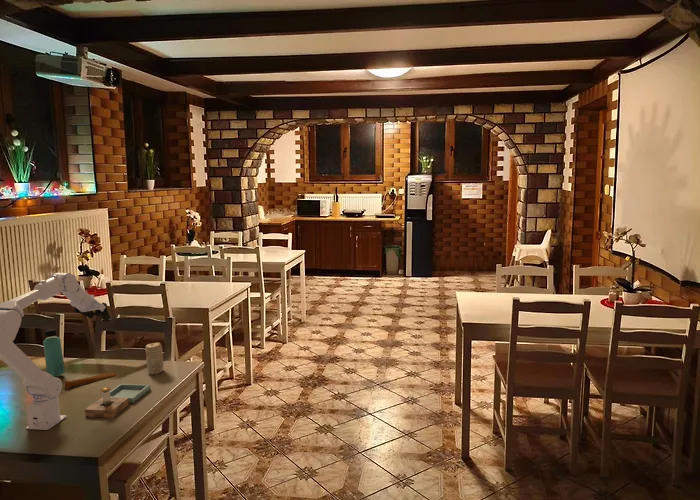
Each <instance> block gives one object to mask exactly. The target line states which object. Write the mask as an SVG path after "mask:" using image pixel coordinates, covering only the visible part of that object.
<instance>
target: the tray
mask: <svg viewBox="0 0 700 500" xmlns="http://www.w3.org/2000/svg"><path fill="white" fill-rule="evenodd" d="M150 391H151V385H150V384H139V383H138V384H137V383H134V384H133V383H120V384H118V385H117V386H115V387H114V388H113V389H110V397H115V398H129V404H132V403H133V404H135V403H136V402H137V401H139V400H140V399H141V398H142V397H143V396H145V395H146V394H147V393H149V392H150Z"/></svg>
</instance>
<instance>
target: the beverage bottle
mask: <svg viewBox="0 0 700 500" xmlns="http://www.w3.org/2000/svg"><path fill="white" fill-rule="evenodd" d="M56 335H58V333H57V329H55V328H49V329H46V330H44V336H45V337H46V338H45V339H44V340H43V342H42V344H43V351H44V361H45V368H46V369H45V370H46V373H48V374H51V375H52V376H53V377H58V376H61V375H63V374H65V372H66V371H65V370H66V369H65V368H66V367H65V361H64V356H63V349H62V348H63V347H62V341H61V338H60V337H59V336H56Z"/></svg>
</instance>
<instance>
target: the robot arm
mask: <svg viewBox="0 0 700 500" xmlns="http://www.w3.org/2000/svg"><path fill="white" fill-rule="evenodd" d="M58 294H63V296H64V297H66V298H67V299H68V300H69V301H70V302H69V305H70V306H71V307H73V308H74V309H73V312H74V313H77V314H80V315H83V316H84V317H86V318H89V319H91V320H92V319H93V317H94V316H95V317H98V318H100V319H101V320H102V321H105V322H108V321H109V320H110V319H111V315H110V313H109V311H108V304H107V302H106V303H105V302H99V301H98V300H97V299H95V297H96V296H95V294H89V293H88V292H87V291H86V290H85V289H84V288H83V287H82V286H81V285H80V284H79V282H78V279H77V276H76V275H75V274H72V273H69V272H68V273H67V272H54V273H51V275H50V276H49V278H47V279H41V280H40V281H39V283H37V284H36V285H34V287H33V290H31V291H28V292H26V293H24V294H21V295H19V296H16V297H14V298H12V299H9V300H6V301H4V302H1V303H0V360H1V361H2V362H4V363H5V365H7V366H8V367H9V369H12V371H14V372H15V373H16V374H17V375H18V376H19V377H20V378H21V379H22V383H21V384H22V386H23V387H24V388H25V391H26V393H27V394H28V395H30V398H31V399H32V400H31V401H32V402H31V403H30V404H29V405H28V406H27V408H26V420H27V421H26V422H27V426H26V427H25V429H26V430H38V431H39V430H41V431H42V430H43V431H48V430H50V429H51V428H53V427H54V426H56V425H57V424H59V423H60V422H61V421H63V420H65V419H66V418H67V415H65V414H64V415H63V414H62V415H61V411H60V403H59V396H60V393H61V391H62V389H63V381H62V380H61V379H60V378H59V377H56V376H52V375H51V374H48V373H47V371H46V372H45V371H44V370H42V369H41V368H40V367H39V366H38V365H36V363H35V362H33V360H31V359H30V357H29V356H28V355H27V354H25V352H23V351H22V349H20V348H19V347H18V346H17V345H16V344H15V343H14V341H15V339H16V336H17V334H18V332H19V329H20V327H21V324H22V318H23V317H24V309H25V308H27V307H29V306H30V305H32V304H34V303H35V302H37V301H39V300H41V301H46V300H48V299H50V298H52V297H54V296H56V295H58Z"/></svg>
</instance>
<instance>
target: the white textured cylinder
mask: <svg viewBox="0 0 700 500" xmlns="http://www.w3.org/2000/svg"><path fill="white" fill-rule="evenodd" d="M163 351H164V350H163V346H162V343H160V342H152V343H148V344H146V345H145V355H146V357H145V358H146V369H147V373H148V374H149V375H150V376H151V375H152V376H153V375H158V374H160V373H161V372H162V371H163V370H164V357H163V355H164V354H163Z"/></svg>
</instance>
